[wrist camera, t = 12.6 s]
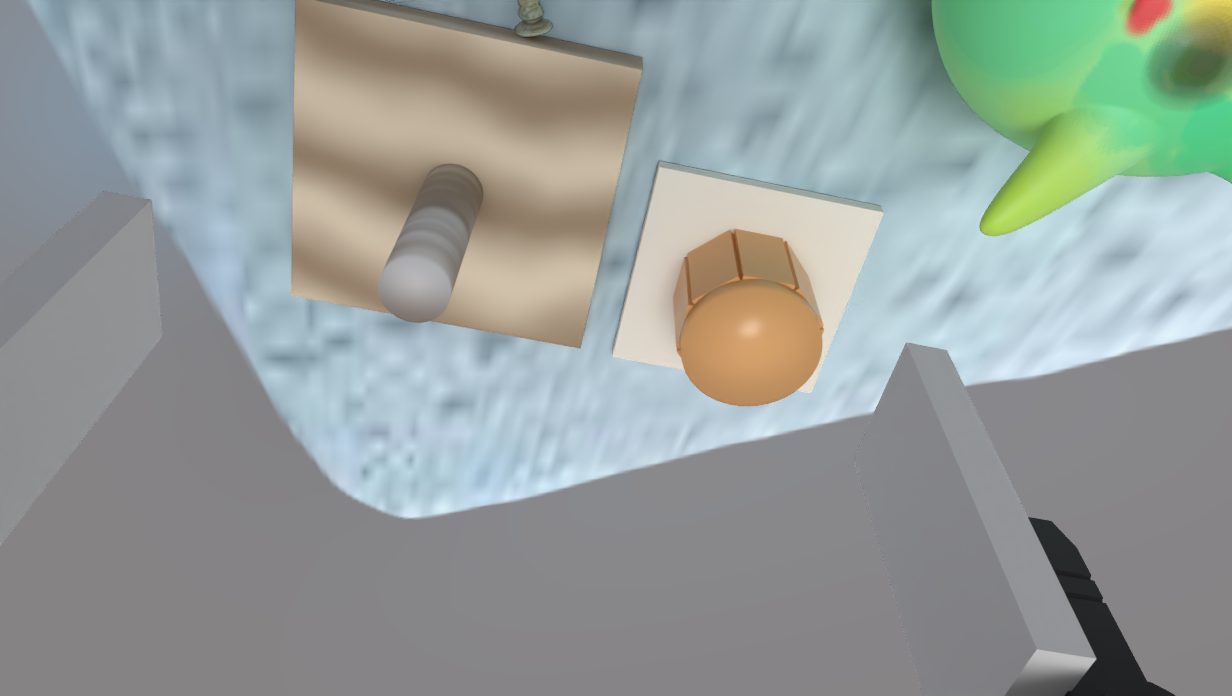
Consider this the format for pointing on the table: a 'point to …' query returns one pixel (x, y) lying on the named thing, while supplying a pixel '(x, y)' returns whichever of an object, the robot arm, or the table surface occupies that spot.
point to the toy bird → (1092, 91)
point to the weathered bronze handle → (532, 19)
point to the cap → (746, 319)
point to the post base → (462, 117)
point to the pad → (715, 203)
